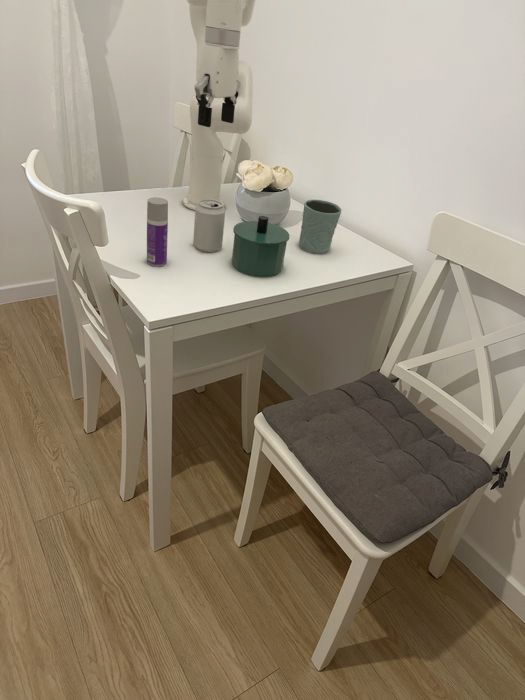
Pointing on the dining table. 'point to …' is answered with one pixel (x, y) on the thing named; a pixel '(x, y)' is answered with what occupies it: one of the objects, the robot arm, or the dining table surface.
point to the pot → (257, 258)
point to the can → (209, 225)
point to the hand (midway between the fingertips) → (216, 123)
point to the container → (157, 231)
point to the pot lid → (261, 232)
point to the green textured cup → (318, 226)
